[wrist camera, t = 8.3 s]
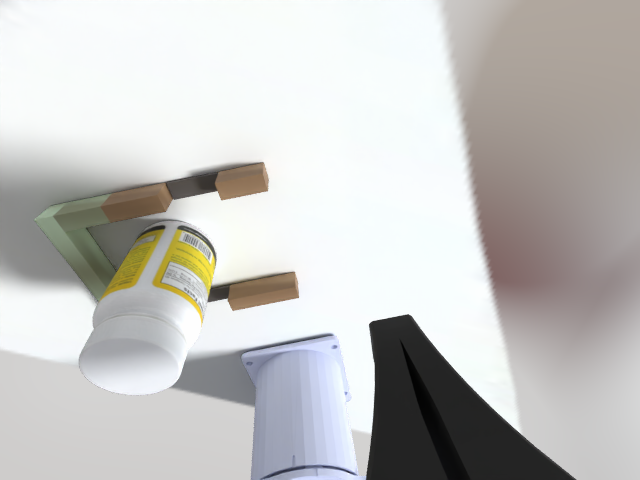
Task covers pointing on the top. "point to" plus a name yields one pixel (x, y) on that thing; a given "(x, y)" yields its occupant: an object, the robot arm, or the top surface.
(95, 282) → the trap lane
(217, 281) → the top surface
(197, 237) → the supplement bottle
